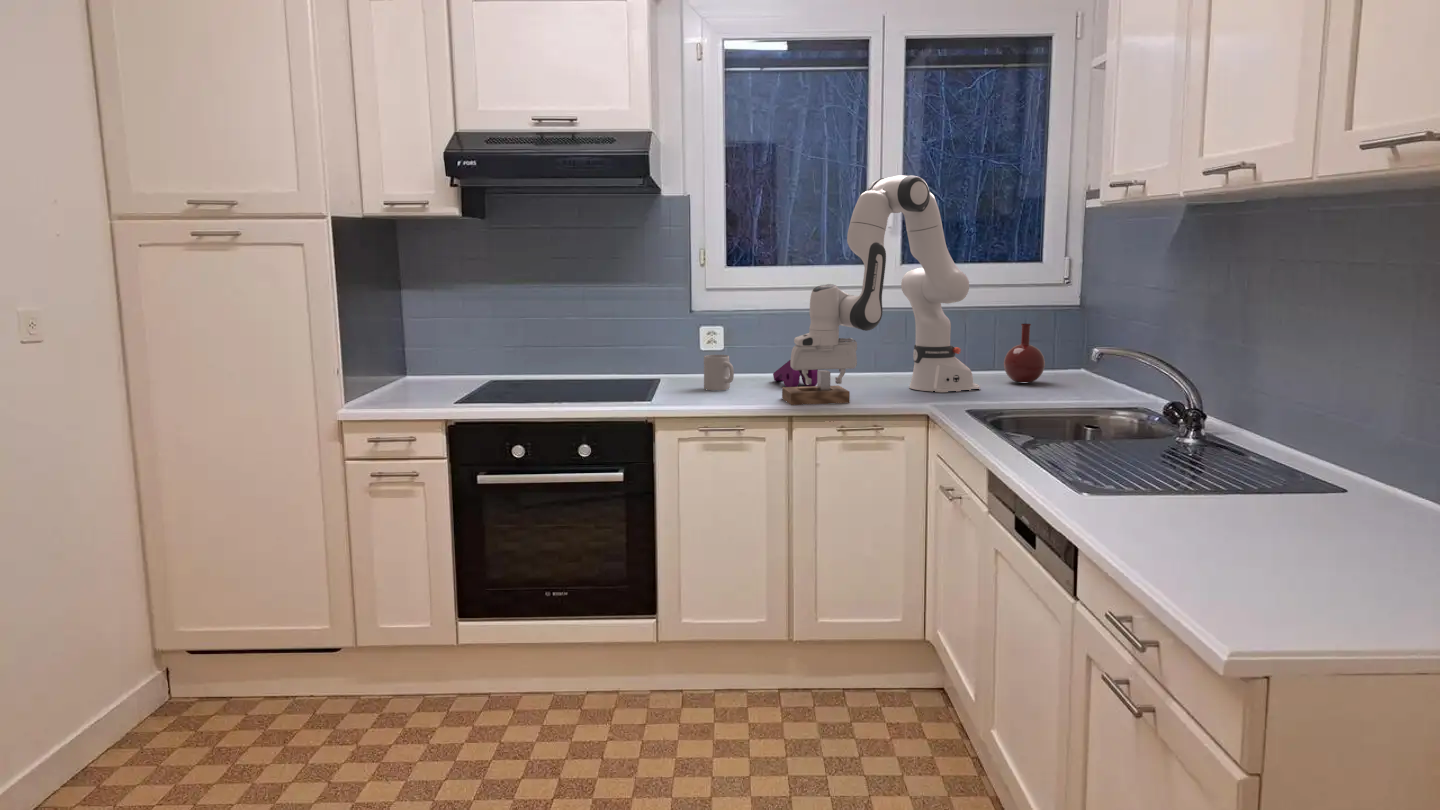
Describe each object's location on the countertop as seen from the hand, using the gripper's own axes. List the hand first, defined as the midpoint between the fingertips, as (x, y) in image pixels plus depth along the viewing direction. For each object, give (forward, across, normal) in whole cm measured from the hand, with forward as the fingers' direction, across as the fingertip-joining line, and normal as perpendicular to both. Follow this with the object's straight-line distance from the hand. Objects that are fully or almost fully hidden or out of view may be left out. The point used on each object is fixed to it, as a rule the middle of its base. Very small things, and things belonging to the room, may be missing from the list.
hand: (823, 383), depth 300 cm
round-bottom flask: (+5, -74, -19) cm, 77 cm away
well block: (+5, +2, 0) cm, 6 cm away
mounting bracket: (+6, +2, -33) cm, 34 cm away
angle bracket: (+5, +2, 0) cm, 6 cm away
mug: (+5, +28, -27) cm, 39 cm away
